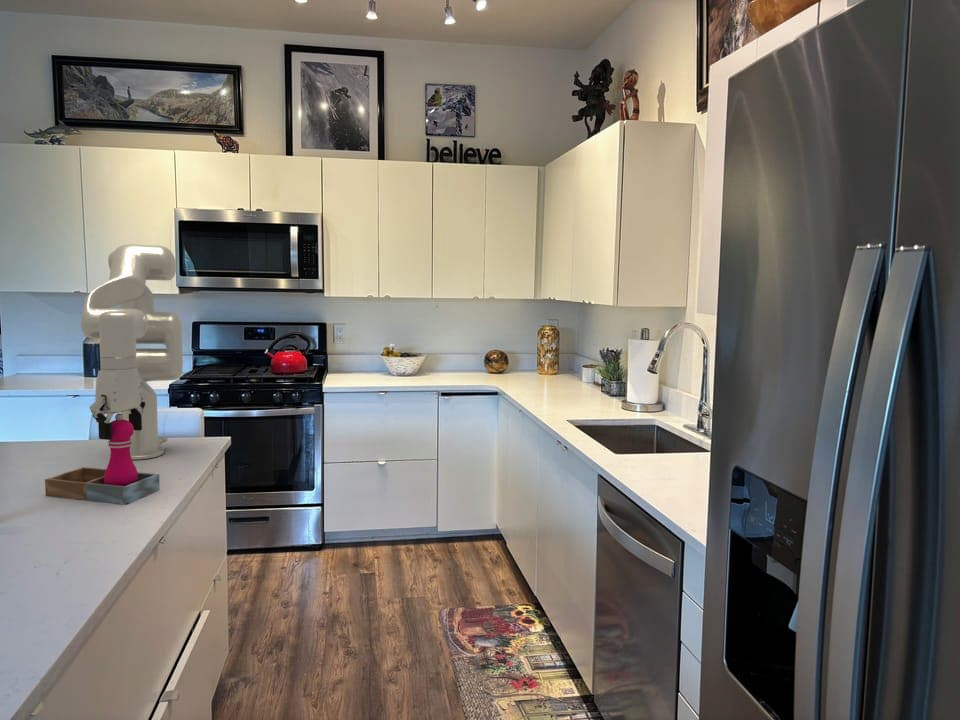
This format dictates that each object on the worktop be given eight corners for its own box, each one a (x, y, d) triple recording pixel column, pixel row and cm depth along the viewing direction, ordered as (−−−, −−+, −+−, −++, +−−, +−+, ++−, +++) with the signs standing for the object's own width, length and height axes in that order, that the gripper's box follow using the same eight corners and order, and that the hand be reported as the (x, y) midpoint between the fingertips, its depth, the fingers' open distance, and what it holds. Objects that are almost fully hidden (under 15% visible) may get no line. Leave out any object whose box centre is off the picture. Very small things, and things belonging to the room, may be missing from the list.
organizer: (83, 482, 169) (82, 467, 169) (159, 490, 165) (159, 474, 164) (45, 495, 158) (44, 479, 158) (126, 504, 154) (125, 487, 153)
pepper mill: (124, 501, 156) (121, 417, 154) (97, 498, 157) (94, 415, 155) (145, 491, 163) (142, 411, 161) (119, 489, 164) (116, 409, 162)
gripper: (131, 358, 166) (133, 425, 168) (75, 367, 149) (79, 441, 151) (157, 360, 165) (159, 427, 167) (104, 369, 148) (107, 444, 150)
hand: (121, 434), depth 159 cm, fingers open, 9 cm apart
